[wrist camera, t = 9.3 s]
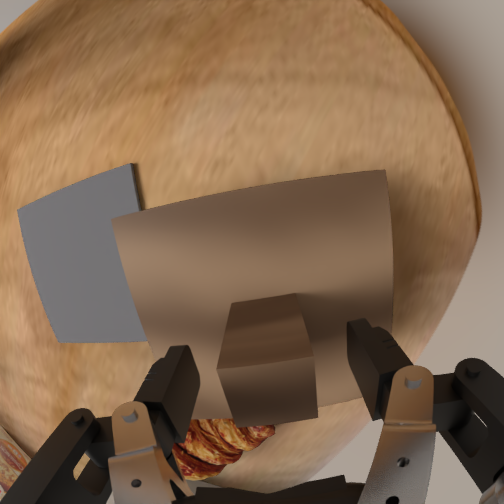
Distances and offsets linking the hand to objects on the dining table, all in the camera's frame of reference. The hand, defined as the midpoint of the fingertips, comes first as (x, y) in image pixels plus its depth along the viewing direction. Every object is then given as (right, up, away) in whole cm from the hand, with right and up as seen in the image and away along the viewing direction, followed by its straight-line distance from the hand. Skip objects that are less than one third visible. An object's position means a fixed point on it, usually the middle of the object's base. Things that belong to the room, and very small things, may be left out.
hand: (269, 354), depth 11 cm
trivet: (-15, +3, +10) cm, 18 cm away
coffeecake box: (-62, -45, +23) cm, 80 cm away
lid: (0, +1, +3) cm, 3 cm away
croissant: (-8, -15, +14) cm, 22 cm away
